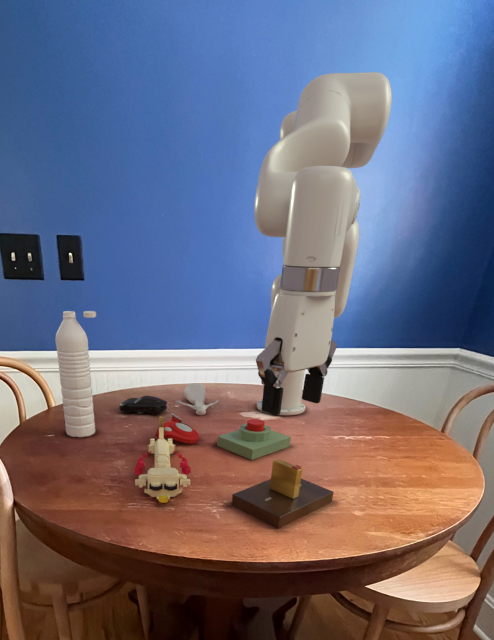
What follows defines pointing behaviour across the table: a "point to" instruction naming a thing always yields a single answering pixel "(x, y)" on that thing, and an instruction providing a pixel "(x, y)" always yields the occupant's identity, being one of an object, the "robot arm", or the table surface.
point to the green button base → (253, 442)
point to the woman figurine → (196, 398)
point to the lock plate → (281, 502)
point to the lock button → (255, 425)
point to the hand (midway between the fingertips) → (291, 406)
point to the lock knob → (286, 478)
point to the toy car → (143, 405)
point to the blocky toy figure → (162, 469)
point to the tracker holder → (179, 431)
